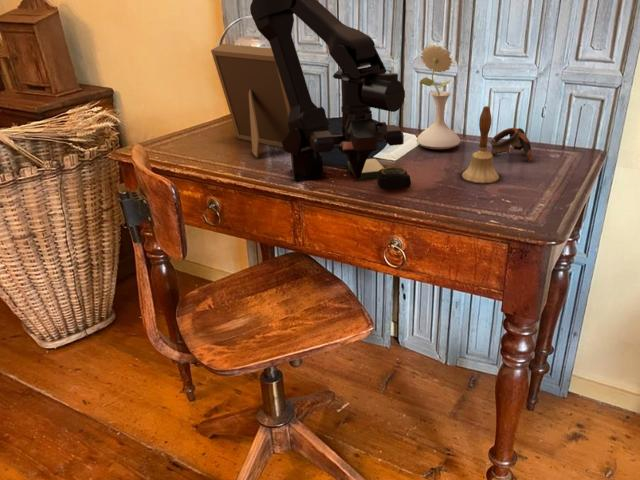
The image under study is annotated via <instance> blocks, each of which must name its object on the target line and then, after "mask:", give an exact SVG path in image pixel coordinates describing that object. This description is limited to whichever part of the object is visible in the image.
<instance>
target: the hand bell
mask: <svg viewBox="0 0 640 480" xmlns="http://www.w3.org/2000/svg"><path fill="white" fill-rule="evenodd" d="M478 126H479V127H478V128H479V133H480V139H479V149H478V151H475V152H473V153H472V156H471V160H470V164H469V166H468V167H467V168H466V170H464V171H463V173H461V177H462V179H464V180H465V181H467V182H470V183H474V184H491V183H492V184H493V183H495V182H497V181H499V179H500V176H499V173H498V172H497V171H496V170H495V168H494V161H493V157H494V155H493V154H492V153H491V152H489V151H488V138H489V134H490V130H491V126H492V114H491V109H490V106H488V105H487V106H486V105H485V106H483V108H482V111H481V113H480V116H479V121H478Z"/></svg>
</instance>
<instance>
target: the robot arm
mask: <svg viewBox="0 0 640 480" xmlns="http://www.w3.org/2000/svg"><path fill="white" fill-rule="evenodd" d="M249 11H250V15H251V18H252V20H253V22H254V24H255V27H256V29H257V31H258V32H259V33H260V34H261V35H262V36H263V37H264V38H265V39H266V40H267V41H268V43H269V45H270V48H271V49H272V52H273V55H274V58H275V61H276V65H277V68H278V71H279V74H280V77H281V80H282V83H283V87H284V90H285V93H286V96H287V99H288V102H289V105H290V113H289V118H288V127H289V131H290V132H289V134H288V135H287V136H286V138H285V139H284V140H283V142H282V145H283V147H282V148H283V151H284V152H285V153H287V154H290V161H291V162H290V163H291V169H290V174H291V176H292V177H293V180H294V181H305V180H314V179H322V178H323V173H324V166H323V165H324V164H323V163H324V162H323V155H322V154H321V153H328V152H332V151H333V149H335V146H336V147H337V148H338V149H339V151H340V152H341V153H342V154H345V156H346V158H347V160H348V161H349V162H350V165H351V168H352V170H353V173H354V175H353V176H354V178H355V179H356V180H357V179H358V178H360V176H361V174H362V171H363V168H364V165H365V162H366V160H367V159H369V156H370V155H371V153H373V152H375V151H377V150H378V143H382V142H384V141H385V143H386V144H387V145H389V147H391V146H392V147H393V146H402V145H404V142H405V136H404V132H403V131H402V129H400V128H399V127H398V126H396V125H395V124H387V122H386V121H381V122H379V121H378V122H374V120H373V113H372V110H371V108H372V109H377V110H381V111H386V112H391V113H395V112H397V111H399V110H400V109H401V107H402V106H403V104H404V102H405V97H406V90H405V89H404V85H403V83H402V82H401V81H400V80H399V73H395V72H389V73H388V72H387V68H386V67H385V64H384V62H383V61H382V59H381V57H380V54H379V53H378V51H377V48H376V44H375V41H374V40H373V38H372V37H371V36H369V35H368V34H366V33H365V32H362V31H361V30H359V29H357V28H354V27H351V26H348V25H346V24H344V23H343V22H342V21H341V20H340V19H338V18H337V16H335V15H334V14H333V13H332V12H331V11H330V10H328V9H327V8H326V7H325V6H324V5H323V4H322V3H321V2H319V0H252V1H251V3H250V7H249ZM294 15H295V16H296V17H297V18H299V20H301V21H302V22H303V23H304V24H305V25H306V26H307V27H308V28H309V29H310V30H311V31H313V33H315V35H317V36H318V37H319V38H320V39H321V40H322V41H323V42H324V43H325V45H327V49H328V53H329V56H330V57H331V58H332V59H333V61H334V62H335V63H336V65H337V66H338V67H339V68H338V69H337V71H336V72H334V73H333V74H332V78H333V79H335V80H340V86H341V87H340V88H341V108H340V109H341V110H340V111H341V120H342V121H341V122H342V126H341V132H342V134H333V135H332V133H331V132H330V128H329V126H330V125H331V124H330V122H329V120H328V118H327V115H326V110H325V108H324V107H323V106H320V107H318V106H317V105H316V104H315V103H314V102H313V100H312V98H311V97H312V96H311V94H310V91H309V88H308V85H307V81H306V78H305V75H304V71H303V68H302V65H301V62H300V61H301V60H300V58H299V54H298V51H297V49H296V45H295V42H294V39H293V35H292V34H293V28H294V23H295V17H294Z"/></svg>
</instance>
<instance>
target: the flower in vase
mask: <svg viewBox="0 0 640 480" xmlns="http://www.w3.org/2000/svg"><path fill="white" fill-rule="evenodd" d="M442 47H443V46H441V45H439V46H437V45H436V44H433V45H430V44H429V45H428V46H427V47H424V48H423V49H422V52H421V55H420V59H421V60H422V63H423V64H424V65H425V67H426V68H427V69H429V71H430V70H431V71H432V73H431V78H429V77H427V76H425V77H422V79H421V80H420V81H419V84H421V85H425V86H427V87H431V86H432V85H434V87H435V89H436V91H432V92H430V95H431V96H432V98H433V102H434V109H435V110H434V111H435V113H434V114H435V115H434V121H433V122H432V124H430V125H429V126H428V127H427V128H426V129H424V130H422V132H420V133H419V135H417V138H416V142H417V144H418V145H419V146H421V147H423V148H425V149H430V150H439V151H441V150H442V151H443V150H448V149H449V150H451V149H452V148H455V147H457V146H459V144H460V143H461V138H460V137H459V135H458V134H457V133H456V132H455V131H454V130H453V129H452V128H450V127H449V126H448V125H447V123H446V121H445V109H446V104H447V102H448V99H449V97H450V96H451V95H452V93H451V92H450V91H446V90H445V91H444V90H443V91H442V90H441V91H440V90H439V88H443V87H445V86H447V85H448V84H449V83H450V82H451V81H452V79H450V80H448V81H444V82H442V83H440V85H439V86H437V85H436V82H435V79H434V73H436V72H437V73H442V72H446V71H450V69H451V68H450V67H452V64H453V59H452V57H451V54H450V52H448V50H447V49H443V48H442Z"/></svg>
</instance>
